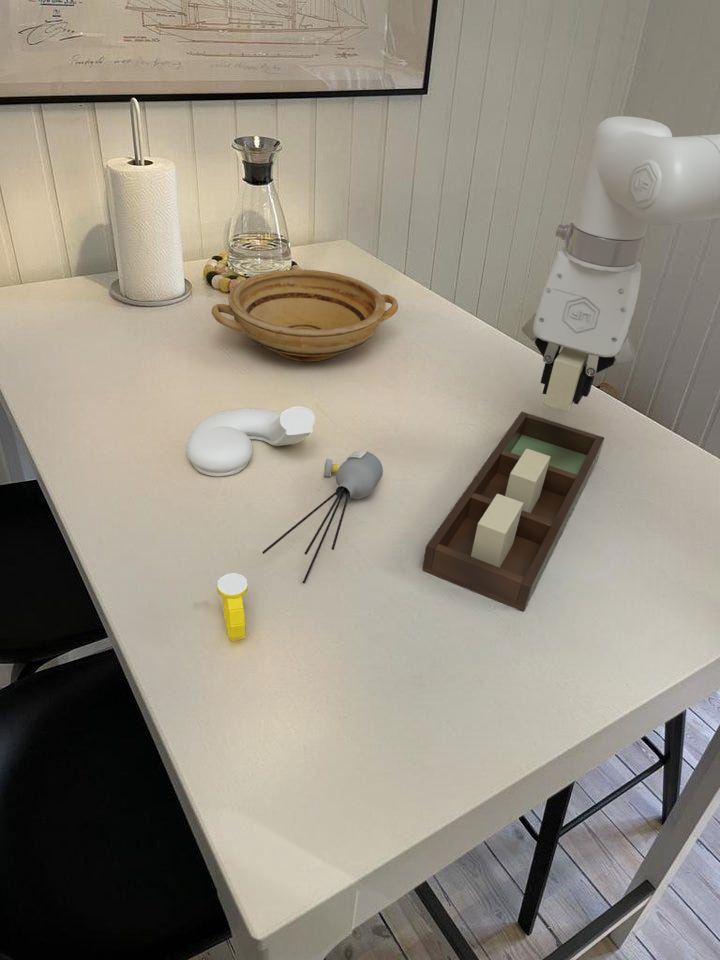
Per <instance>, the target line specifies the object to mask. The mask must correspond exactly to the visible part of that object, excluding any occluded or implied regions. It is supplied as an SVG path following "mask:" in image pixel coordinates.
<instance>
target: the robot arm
mask: <svg viewBox="0 0 720 960" xmlns="http://www.w3.org/2000/svg"><path fill="white" fill-rule="evenodd" d="M717 219H720V133H718V134H717V133H716V134H701V135H690V136H689V135H687V136H673V133H672V131H671V129H670V128H669V127H668V126H667V125H665V124H664V123H662V122H659V121H657V120H652V119H648V118H643V117H637V116H627V115H619V116H617V115H616V116H612V117H607V118H605V119H603V120H602V121H600V123H599V124H598V125H597V127H596V128H595V130H594V134H593V138H592V141H591V145H590V149H589V154H588V158H587V162H586V166H585V170H584V174H583V178H582V182H581V186H580V191H579V194H578V198H577V203H576V207H575V211H574V215H573V220H572V222H571V223H569V224H560V223H559V224H558V226H557V228H556V231H555V237H557V238H561V240H563V241H564V244H565V246H564V247H562V248H561V249H559V250H558V251H557V252H556V254H555V256H554V259H553V261H552V264H551V266H550V268H549V271H548V273H547V277H546V279H545V283H544V286H543V288H542V292H541V295H540V299H539V302H538V305H537V309H536V312H535V313H534V314H533V315H532V316H531V317H530V319H528V320H527V322H526V323H524V325H523V326H522V327H521V332H522V333H523V334H524V335H525V336H526V337H527V338H528V339H530V340H531V341H532V342H534V345H535V346H536V348H537V349H538V351H539V353H540V354H541V356H542V361H543V363H544V366H543V370H542V375H541V379H540V384H542V385H543V390H542V395H545V396H546V392H547V389H548V385H549V381H550V377H551V373H552V369H553V365H554V361H555V359H556V358H557V356H558V355H559V354H560V352H561V350H562V347H563V348H564V347H567V348H571V349H574V350H578V351H581V352H585V353H589V354H588V360H587V364H586V366H585V368H584V369H583V371H582V373H581V374H580V377H579V380H578V384H577V387H576V391H575V394H574V398H573V404H574V405H579V404H580V402H581V401H582V399H583V397H585V398H588V396H589V395H590V393H591V389H592V385H593V383H594V379H595V377H596V375H597V374H598V373H600V372H602V371H604V370H606V369H608V368H610V367H612V366H614V365H616V366H618V365H622V364H623V365H624V364H628V363H632V362H633V361H634V359H635V357H636V351H635V348H634V342H633V339H632V335H631V330H630V329H631V325H632V321H633V317H634V314H635V310H636V305H637V301H638V297H639V291H640V285H641V276H642V264H641V262H639V261H638V258H639V255H640V252H641V250H642V249H641V248H642V246H643V242H644V240H645V235H646V232H647V229H648V226H649V225H653V226H672V225H678V224H679V225H680V224H687V223H693V222H701V221H707V220H708V221H710V220H717Z"/></svg>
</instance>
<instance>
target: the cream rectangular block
mask: <svg viewBox="0 0 720 960" xmlns="http://www.w3.org/2000/svg"><path fill="white" fill-rule="evenodd" d="M588 354H589V353H585V352H581V351H578V350H574V349H571V348H567V347H564V346H563V347H562V348H561V350H560V351H559V355H558V356H557V358H556V359H555V361H554V365H553V369H552V373H551V377H550V381H549V385H548V389H547V392H546V395H545V396H544V400H543V405H544V406H548V407H551V408H554V409H557V410H560V411H564V412H566V413H567V412H569V411H570V409H571V407H572V405H573V404H574V402H573V398H574V394H575V391H576V387H577V384H578V380H579V377H580V374H581V373H582V371H583V369H584V368H585V366H586V364H587V360H588Z"/></svg>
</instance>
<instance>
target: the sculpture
mask: <svg viewBox="0 0 720 960" xmlns="http://www.w3.org/2000/svg"><path fill="white" fill-rule="evenodd" d="M315 422H316V416H315V413H314V412H313V411H312V409H310V408H308V407H306V406H291V407H288V408H286V409H285V410H283V411H282V412H281V413H280V412H278V411H276V410H272V409H267V408H258V407H257V408H256V407H244V408H235V409H234V408H233V409H229V410H225V411H221V412H218V413H214V414H212V415H210V416H208V417H206V418H204V419H203V420H202V421H200V422H199V423H198V424H197V425H196V426H195V427H194V428H193V430H192V431H191V433H190V435H189V437H188V440H187V444H186V456H187V458H188V460H189V462H190V463H191V464H192V466H193V468H194V469H195V470H196V471H197V472H199V473H201V474H203V475H206V476H210V477H228V476H232V475H236V474H238V473H240V472H242V471H243V470H244V469H245V468H246V467H247V466H248V464H249V462H250V459H251V457H252V456H253V452H254V448H253V443H252V440H256V441H261V442H265V443H266V444H269V445H271V446H272V447H273V446H274V447H281V446H288V445H289V446H290V445H296V444H299V443H300V442H302V441H303V440H305V439H306V438H307V437H309V436H310V434H311V433H313V432H314V428H313V426H314V424H315Z"/></svg>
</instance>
